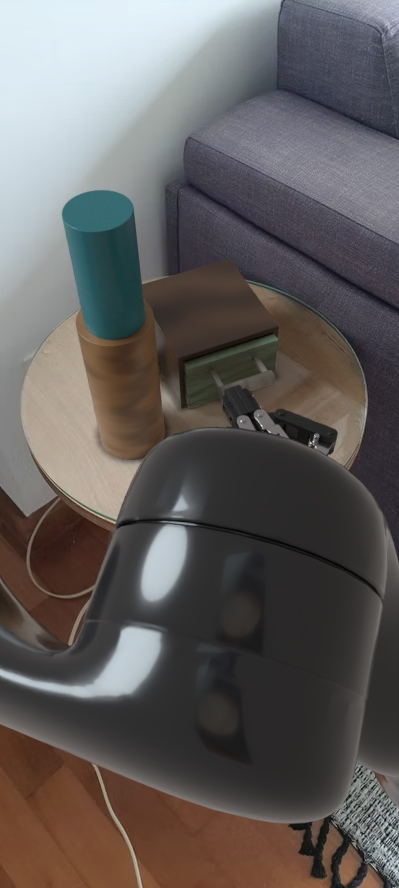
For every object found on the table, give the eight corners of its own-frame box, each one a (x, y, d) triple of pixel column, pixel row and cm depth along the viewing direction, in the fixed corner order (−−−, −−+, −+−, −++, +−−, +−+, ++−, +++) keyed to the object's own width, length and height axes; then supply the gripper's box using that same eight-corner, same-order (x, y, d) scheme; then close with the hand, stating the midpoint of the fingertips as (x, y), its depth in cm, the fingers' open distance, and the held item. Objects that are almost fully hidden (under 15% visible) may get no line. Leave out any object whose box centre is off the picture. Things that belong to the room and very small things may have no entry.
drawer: (291, 404, 82) (296, 364, 77) (203, 434, 80) (202, 395, 74) (232, 317, 92) (232, 276, 86) (152, 341, 89) (148, 301, 84)
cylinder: (94, 347, 65) (73, 239, 55) (75, 308, 68) (53, 200, 58) (154, 329, 66) (143, 220, 56) (133, 291, 69) (119, 183, 60)
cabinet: (274, 377, 86) (279, 325, 79) (181, 408, 83) (178, 358, 77) (228, 310, 94) (229, 258, 87) (142, 337, 91) (136, 285, 84)
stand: (112, 467, 78) (89, 355, 64) (91, 420, 83) (65, 305, 68) (174, 446, 80) (165, 331, 66) (151, 401, 84) (137, 284, 70)
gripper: (402, 487, 54) (297, 343, 64) (250, 547, 51) (163, 387, 60) (383, 535, 60) (289, 397, 69) (245, 591, 57) (167, 439, 66)
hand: (230, 392), depth 65 cm, fingers closed
